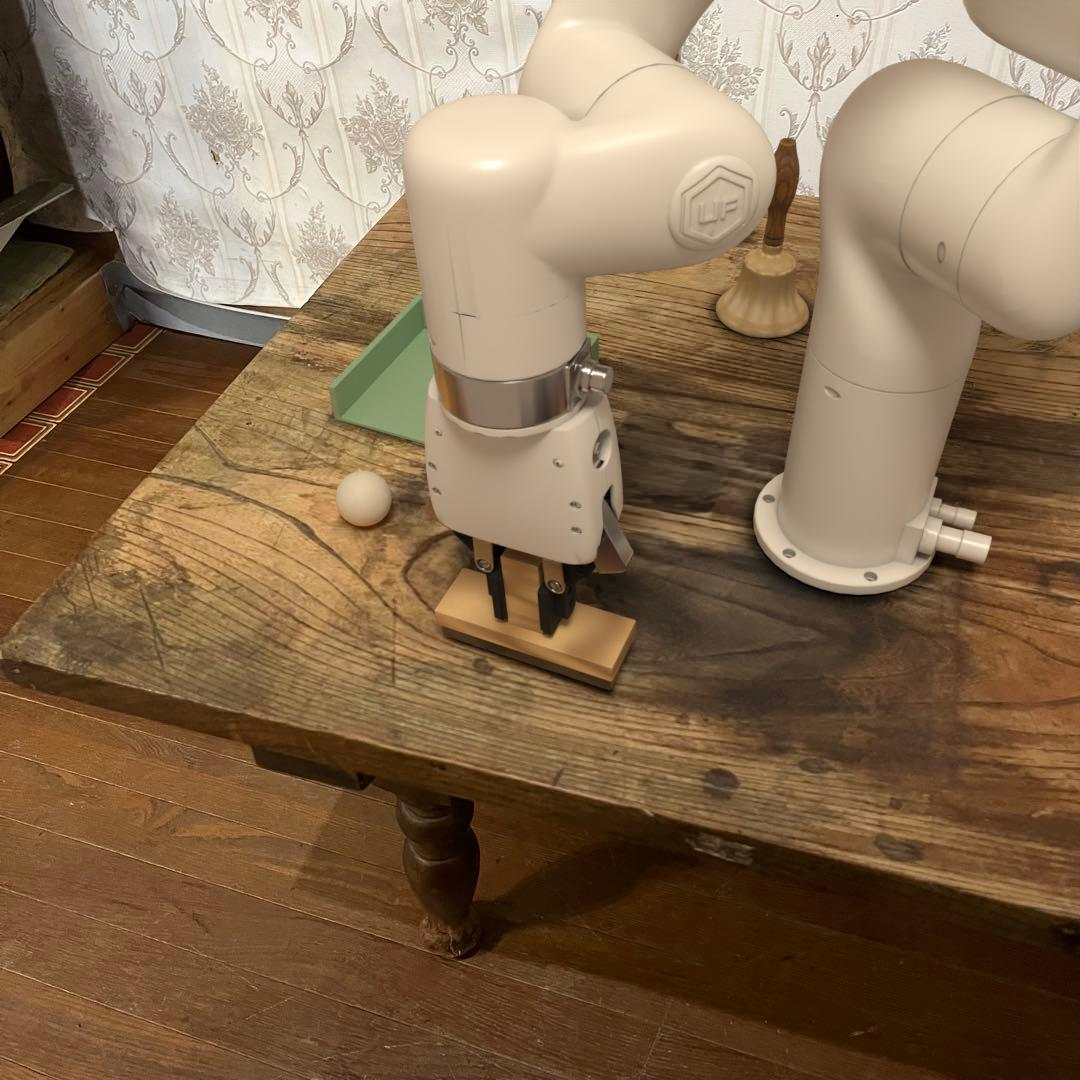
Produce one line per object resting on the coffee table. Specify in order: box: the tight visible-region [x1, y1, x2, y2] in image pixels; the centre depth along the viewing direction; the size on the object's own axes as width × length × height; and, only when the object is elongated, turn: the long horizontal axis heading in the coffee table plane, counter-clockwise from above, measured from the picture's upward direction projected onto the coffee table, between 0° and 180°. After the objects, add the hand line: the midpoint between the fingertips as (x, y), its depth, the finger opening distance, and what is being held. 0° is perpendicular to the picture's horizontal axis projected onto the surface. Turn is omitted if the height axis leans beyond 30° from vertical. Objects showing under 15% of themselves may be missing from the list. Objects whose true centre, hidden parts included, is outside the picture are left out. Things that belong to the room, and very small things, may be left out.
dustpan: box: [327, 294, 600, 445], centre depth 87 cm, size 22×17×3 cm
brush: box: [433, 547, 637, 691], centre depth 63 cm, size 12×4×9 cm, turn 65°
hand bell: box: [715, 137, 810, 339], centre depth 88 cm, size 8×8×16 cm
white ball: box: [334, 470, 393, 527], centre depth 74 cm, size 4×4×4 cm
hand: (533, 608), depth 64 cm, fingers closed on brush, 2 cm apart
